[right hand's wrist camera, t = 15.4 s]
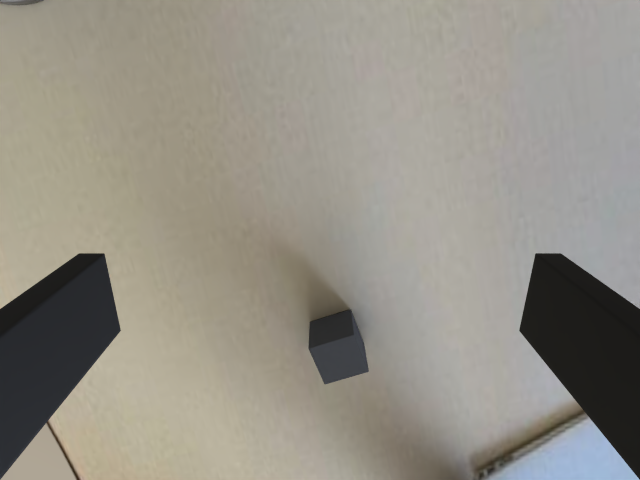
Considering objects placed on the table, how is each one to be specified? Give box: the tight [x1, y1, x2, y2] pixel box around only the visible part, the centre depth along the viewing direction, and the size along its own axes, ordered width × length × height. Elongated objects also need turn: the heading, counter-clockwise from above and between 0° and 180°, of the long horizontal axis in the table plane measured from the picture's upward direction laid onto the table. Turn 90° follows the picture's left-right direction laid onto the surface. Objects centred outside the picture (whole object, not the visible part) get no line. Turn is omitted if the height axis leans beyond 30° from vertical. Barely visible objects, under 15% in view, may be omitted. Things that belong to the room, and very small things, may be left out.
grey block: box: [309, 309, 369, 384], centre depth 45 cm, size 5×5×5 cm
